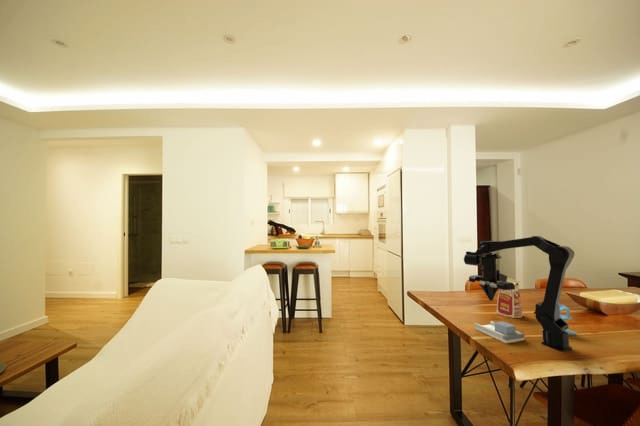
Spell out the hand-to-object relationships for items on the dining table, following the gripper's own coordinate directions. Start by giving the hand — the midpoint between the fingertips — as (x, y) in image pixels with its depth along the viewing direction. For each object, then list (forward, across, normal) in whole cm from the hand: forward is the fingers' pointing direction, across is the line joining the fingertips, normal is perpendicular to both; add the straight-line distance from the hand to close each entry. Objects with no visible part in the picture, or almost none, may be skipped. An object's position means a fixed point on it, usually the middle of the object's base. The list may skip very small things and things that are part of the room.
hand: (491, 300), depth 110 cm
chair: (+12, -12, -23) cm, 29 cm away
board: (+12, -7, +6) cm, 15 cm away
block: (+11, -10, +6) cm, 16 cm away
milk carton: (+12, +9, -24) cm, 28 cm away
